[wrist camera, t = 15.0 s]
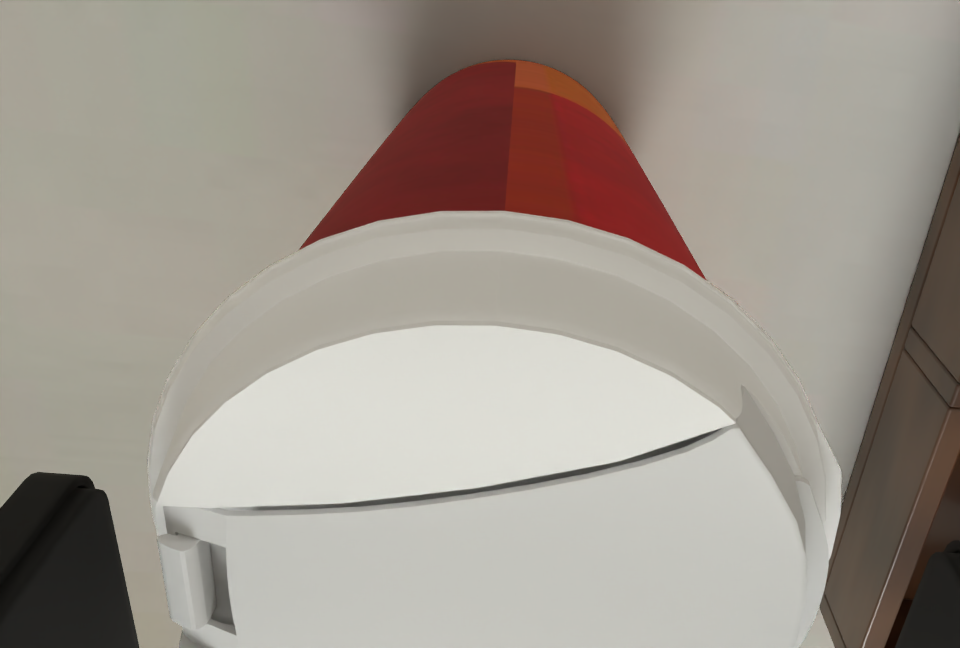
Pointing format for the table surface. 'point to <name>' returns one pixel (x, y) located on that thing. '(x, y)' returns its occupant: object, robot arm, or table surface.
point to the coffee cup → (491, 413)
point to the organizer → (905, 454)
